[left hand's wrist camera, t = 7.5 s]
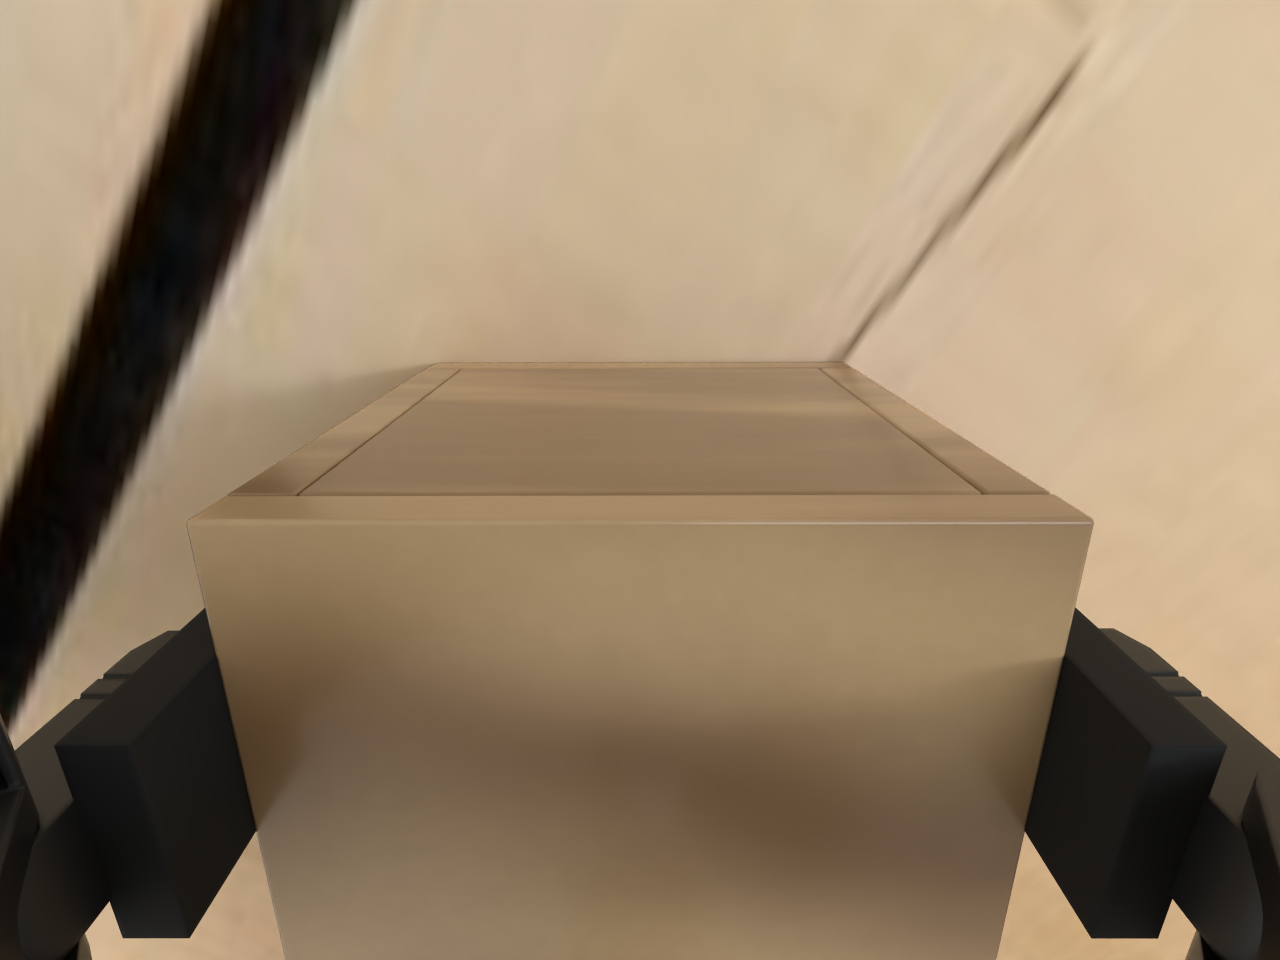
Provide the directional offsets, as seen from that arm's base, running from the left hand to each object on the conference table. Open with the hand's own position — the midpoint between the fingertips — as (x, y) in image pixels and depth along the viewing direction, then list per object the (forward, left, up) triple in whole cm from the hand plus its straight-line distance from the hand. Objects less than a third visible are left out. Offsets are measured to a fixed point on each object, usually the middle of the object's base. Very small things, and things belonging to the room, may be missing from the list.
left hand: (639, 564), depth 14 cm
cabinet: (+7, -2, -5) cm, 9 cm away
